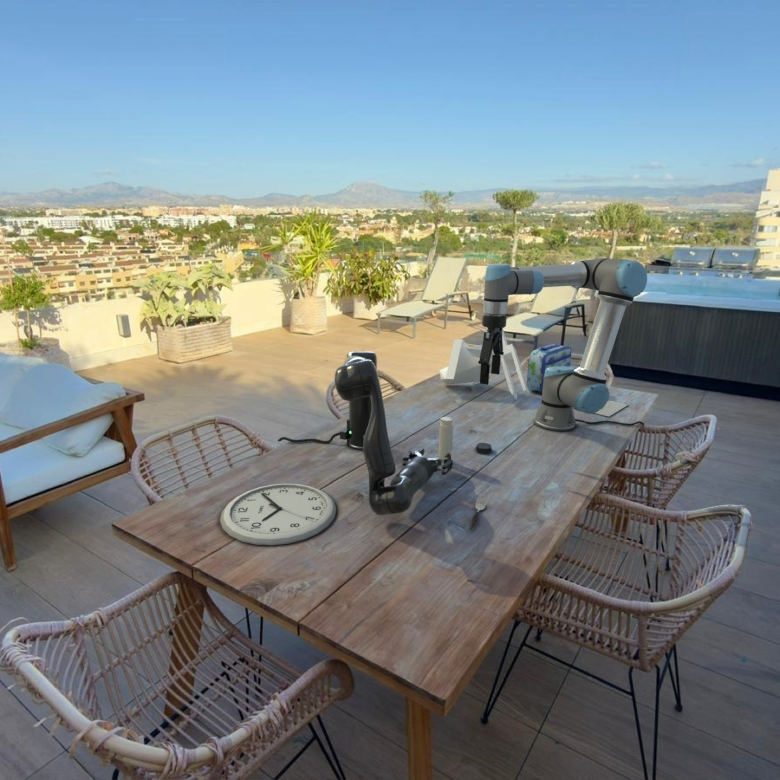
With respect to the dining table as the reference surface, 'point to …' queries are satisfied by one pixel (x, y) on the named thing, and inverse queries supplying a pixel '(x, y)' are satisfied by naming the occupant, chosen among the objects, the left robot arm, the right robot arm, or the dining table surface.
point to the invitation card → (611, 408)
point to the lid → (483, 448)
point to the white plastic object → (479, 365)
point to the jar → (445, 437)
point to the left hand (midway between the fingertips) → (435, 453)
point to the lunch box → (546, 363)
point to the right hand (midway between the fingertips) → (489, 378)
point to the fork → (478, 507)
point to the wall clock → (278, 514)
